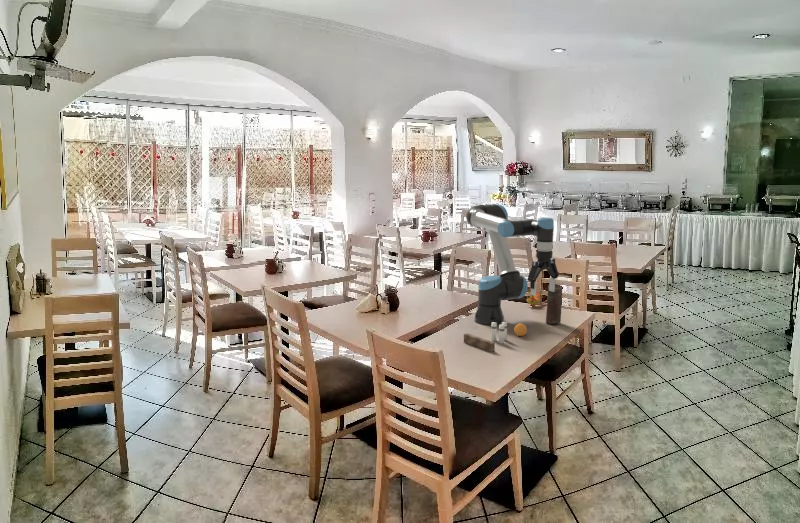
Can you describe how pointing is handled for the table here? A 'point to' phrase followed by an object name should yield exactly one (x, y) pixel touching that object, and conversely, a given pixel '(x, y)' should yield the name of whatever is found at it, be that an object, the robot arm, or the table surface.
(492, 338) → the pin
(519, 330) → the ball
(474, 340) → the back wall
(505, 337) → the front pin
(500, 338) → the pin
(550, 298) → the rusty brown cylinder
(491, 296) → the robot arm
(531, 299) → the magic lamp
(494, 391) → the table surface
